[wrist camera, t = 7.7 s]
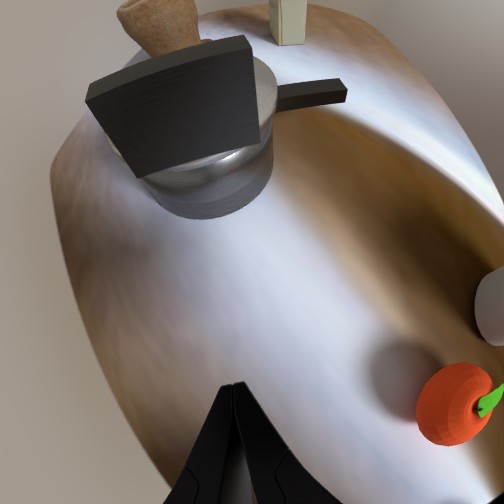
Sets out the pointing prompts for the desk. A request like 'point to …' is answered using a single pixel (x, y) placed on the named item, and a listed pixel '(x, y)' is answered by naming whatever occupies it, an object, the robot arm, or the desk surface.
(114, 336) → the desk surface
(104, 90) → the lid
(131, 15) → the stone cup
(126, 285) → the desk surface
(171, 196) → the pot
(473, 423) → the clementine
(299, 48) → the desk surface
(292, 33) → the skincare box
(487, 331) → the can
